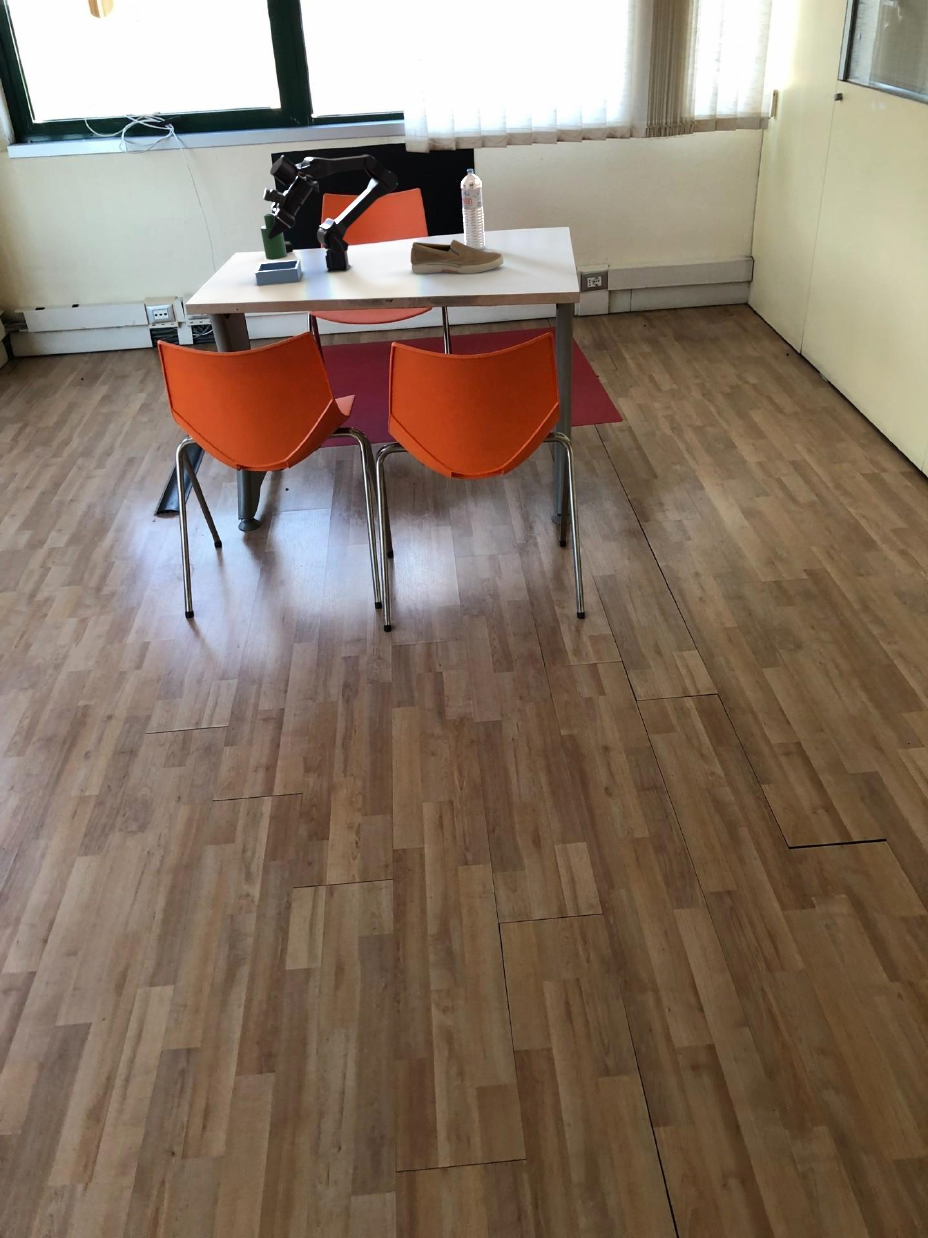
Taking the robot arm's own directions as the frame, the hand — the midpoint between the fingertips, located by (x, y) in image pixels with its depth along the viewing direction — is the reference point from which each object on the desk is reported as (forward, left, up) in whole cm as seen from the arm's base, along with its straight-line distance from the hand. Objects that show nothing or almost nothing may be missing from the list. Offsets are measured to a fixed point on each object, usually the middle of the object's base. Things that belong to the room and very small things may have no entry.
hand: (268, 236), depth 306 cm
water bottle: (-62, -31, -14) cm, 70 cm away
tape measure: (+8, -36, -14) cm, 39 cm away
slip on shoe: (-60, -3, -14) cm, 61 cm away
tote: (-1, 0, -13) cm, 13 cm away
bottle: (-1, -1, -7) cm, 7 cm away
